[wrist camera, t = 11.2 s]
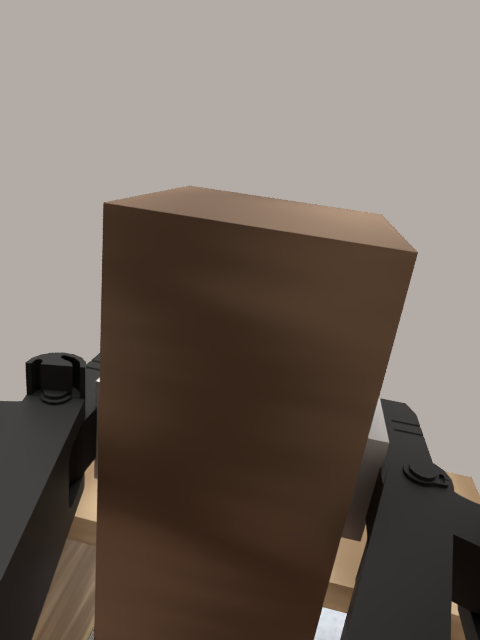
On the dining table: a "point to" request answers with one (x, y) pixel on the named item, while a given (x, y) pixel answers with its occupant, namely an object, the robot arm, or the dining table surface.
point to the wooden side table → (80, 565)
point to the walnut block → (234, 407)
